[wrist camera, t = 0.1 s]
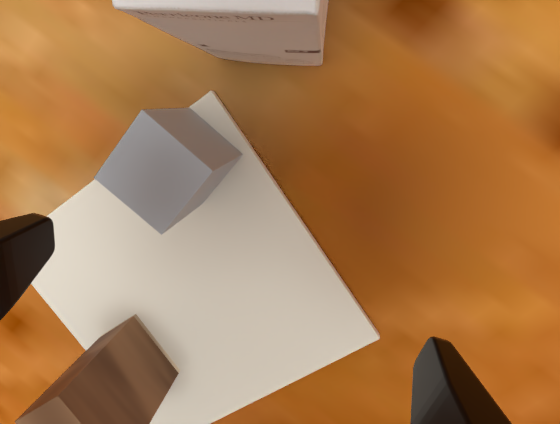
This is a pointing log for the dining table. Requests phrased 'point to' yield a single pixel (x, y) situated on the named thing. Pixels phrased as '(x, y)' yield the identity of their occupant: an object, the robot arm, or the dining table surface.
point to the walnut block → (109, 381)
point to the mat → (207, 285)
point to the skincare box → (241, 27)
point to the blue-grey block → (167, 165)
